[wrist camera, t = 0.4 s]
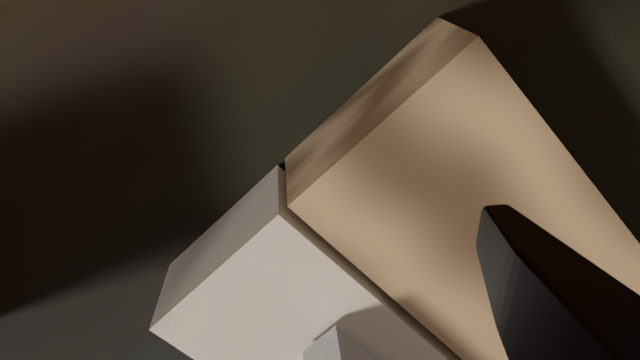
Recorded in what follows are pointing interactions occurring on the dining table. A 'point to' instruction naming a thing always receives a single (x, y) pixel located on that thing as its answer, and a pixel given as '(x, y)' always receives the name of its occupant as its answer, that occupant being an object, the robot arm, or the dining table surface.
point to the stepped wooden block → (446, 184)
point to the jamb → (278, 291)
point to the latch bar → (336, 348)
